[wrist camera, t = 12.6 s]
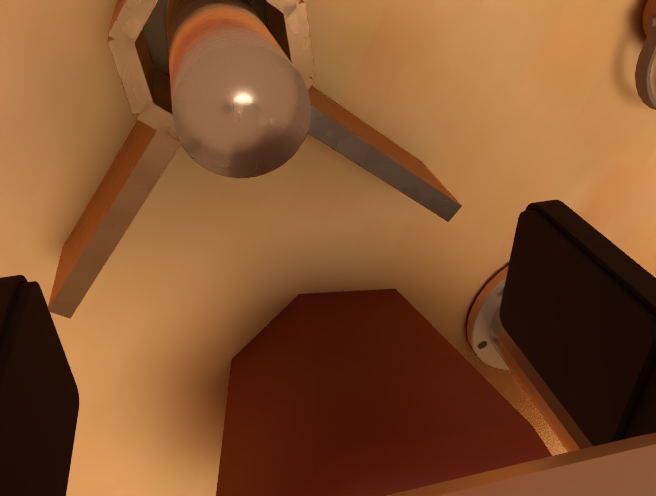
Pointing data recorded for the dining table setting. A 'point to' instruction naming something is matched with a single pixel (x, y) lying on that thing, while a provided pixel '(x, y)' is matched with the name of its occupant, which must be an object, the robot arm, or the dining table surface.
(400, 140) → the dining table surface
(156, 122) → the hinge
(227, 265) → the dining table surface
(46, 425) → the robot arm
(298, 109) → the hinge pin
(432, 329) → the bucket
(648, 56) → the alarm clock
